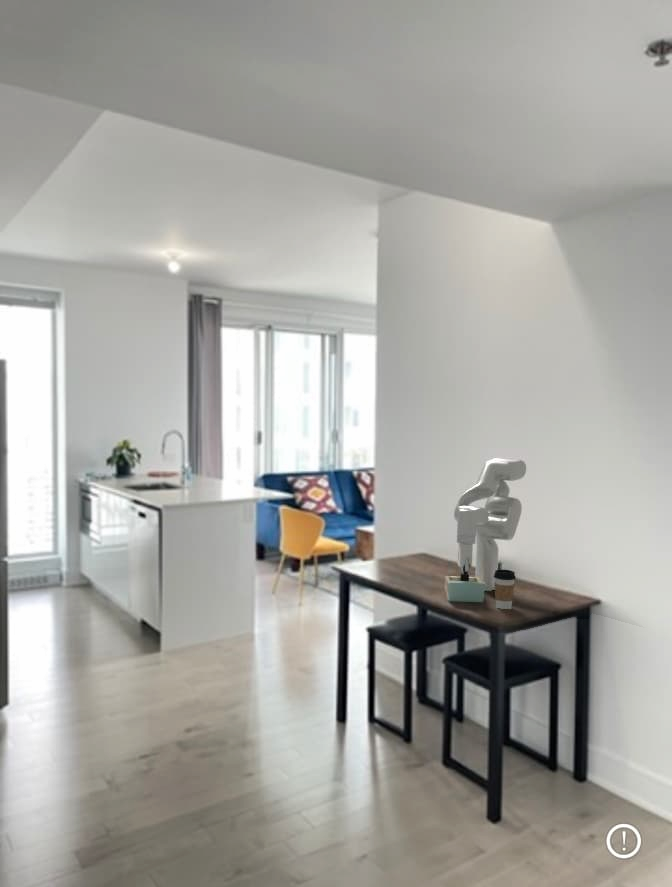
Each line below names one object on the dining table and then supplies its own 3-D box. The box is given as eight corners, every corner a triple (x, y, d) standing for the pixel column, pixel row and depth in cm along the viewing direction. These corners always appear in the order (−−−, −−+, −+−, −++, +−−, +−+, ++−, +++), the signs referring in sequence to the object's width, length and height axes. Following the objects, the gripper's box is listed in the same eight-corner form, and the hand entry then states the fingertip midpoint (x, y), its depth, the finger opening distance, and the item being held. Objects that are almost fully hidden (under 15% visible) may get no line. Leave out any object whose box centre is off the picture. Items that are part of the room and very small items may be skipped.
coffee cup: (496, 611, 262) (497, 573, 262) (490, 604, 271) (491, 568, 270) (517, 611, 263) (518, 573, 262) (510, 605, 271) (512, 568, 270)
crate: (478, 593, 287) (478, 577, 287) (482, 601, 275) (483, 584, 275) (444, 592, 288) (445, 576, 288) (447, 600, 276) (448, 583, 276)
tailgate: (482, 600, 275) (484, 581, 271) (483, 602, 274) (485, 583, 270) (448, 599, 276) (449, 580, 272) (448, 601, 275) (449, 582, 271)
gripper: (454, 535, 284) (453, 578, 285) (459, 542, 269) (457, 587, 270) (472, 536, 284) (471, 579, 284) (478, 542, 269) (476, 588, 269)
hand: (464, 583), depth 277 cm, fingers closed
